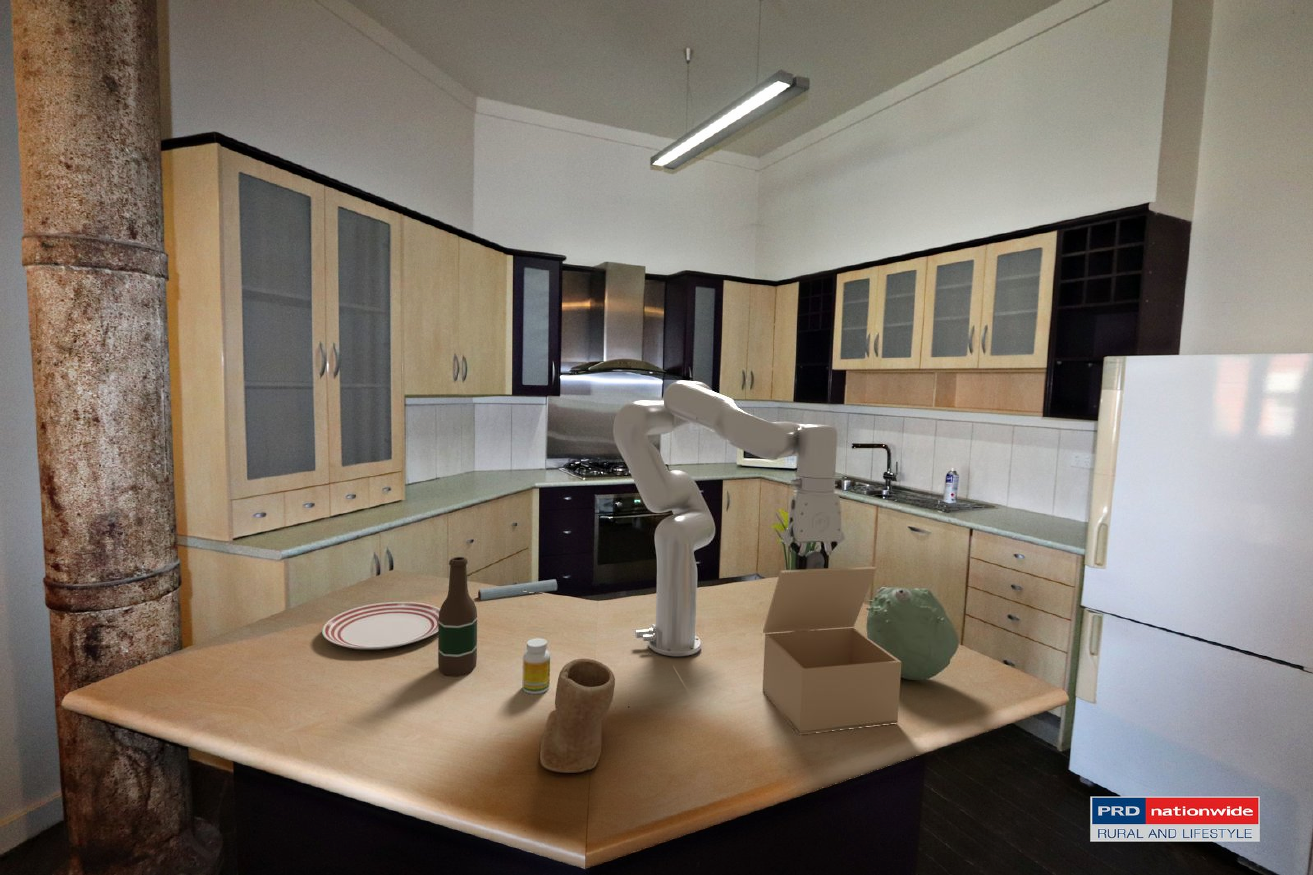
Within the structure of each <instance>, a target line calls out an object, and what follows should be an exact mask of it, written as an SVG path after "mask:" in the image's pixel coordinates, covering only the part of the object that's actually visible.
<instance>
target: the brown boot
mask: <svg viewBox="0 0 1313 875" xmlns="http://www.w3.org/2000/svg"><path fill="white" fill-rule="evenodd" d="M615 683H616V678H615V675H614V672H613V671H612V670H611V669H610V667H608V666H607V665H606V664H604V663H603V662H600V661H597V660H595V659H590V658H577V659H574V660H571V661H569V662H567V663H565V664H564V666H563V667H562V669H561V670H560V672H559V674H558V678H557V682H556V691H555V699H554V706H555V707H554V708H555V709H554V710H552V711H550V713H549V714H548V717H547V720H546V723H545V728H544V732H543V737H542V741H541V744H540V745H541V746H540V752H539V759H540V763H541V765H542V767H543V768H545V769H546V770H549V771H552V772H555V773H556V772H557V773H563V774H570V773H571V774H574V773H581V772H585V771H590V770H592V769H594V768H595V767H596V765H597V763H598V762H599V760H600V756H601V752H602V744H603V743H602V740H603V739H602V725H603V722H604V720H605V718H606V716H607V713H608V712H609V709H610V708H611V705H612V702H613V699H614V692H615V686H616V685H615Z"/></svg>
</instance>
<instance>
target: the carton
mask: <svg viewBox="0 0 1313 875" xmlns="http://www.w3.org/2000/svg"><path fill="white" fill-rule="evenodd" d="M763 650H764V651H763V670H762V671H763V672H762V674H763V675H762V690H763V691H764V692H765V693H764V692H763V691H762V692H763V693H764V695H765V694H766V695H767V696H768V697H769V698H768V697H767V696H766V695H765V696H766V697H767V698H768V700H769V699H770V700H771V701H772V702H771V701H770V700H769V701H770V702H771V703H772V704H773V706H774V705H775V706H774V707H775V708H776V709H777V710H778V712H779V714H781V716H783V717H784V719H785V720H786V721H787V723H788V724H789V723H790V724H789V725H790V726H791V727H792V729H793V728H794V729H795V730H794V729H793V730H794V731H795V733H796V734H797V733H798V734H799V735H800V736H803V735H802V734H808V735H811V734H810V733H816V732H826V731H832V730H840V729H849V728H859V727H866V726H873V725H883V724H891V723H897V724H898V721H899V720H898V719H899V704H900V691H901V678H902V677H901V663H902V662H901V661H900V660H898V659H897V658H895V657H894V656H893V655H891V654H890V653H888V652H887V651H885V650H884V649H883V648H881V647H880V646H878V645H877V644H876V643H874V642H873V641H871V640H870V639H869V638H867V635H864V634H863V633H862V632H860V631H859V630H857V629H856V628H855V627H846V628H832V629H817V630H803V631H788V632H774V633H764V649H763ZM826 733H827V732H826ZM798 734H797V735H798ZM799 735H798V736H799Z"/></svg>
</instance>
